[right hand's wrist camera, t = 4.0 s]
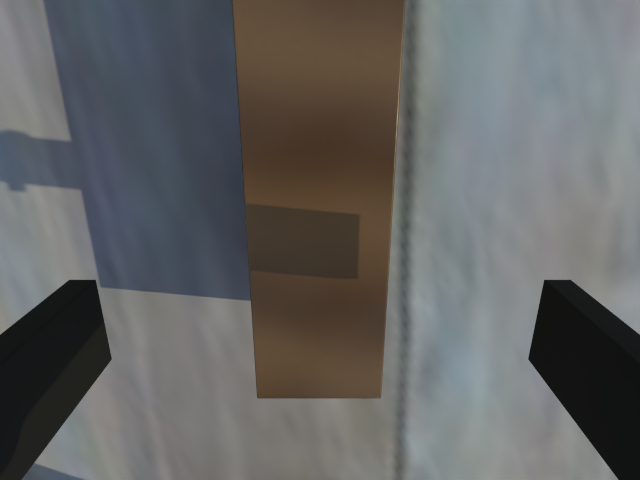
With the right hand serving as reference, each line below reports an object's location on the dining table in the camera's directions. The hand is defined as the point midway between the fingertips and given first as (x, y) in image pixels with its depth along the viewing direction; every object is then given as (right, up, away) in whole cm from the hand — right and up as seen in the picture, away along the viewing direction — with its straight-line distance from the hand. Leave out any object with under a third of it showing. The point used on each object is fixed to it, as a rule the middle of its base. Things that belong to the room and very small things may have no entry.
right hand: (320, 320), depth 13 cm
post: (0, +34, +1) cm, 34 cm away
